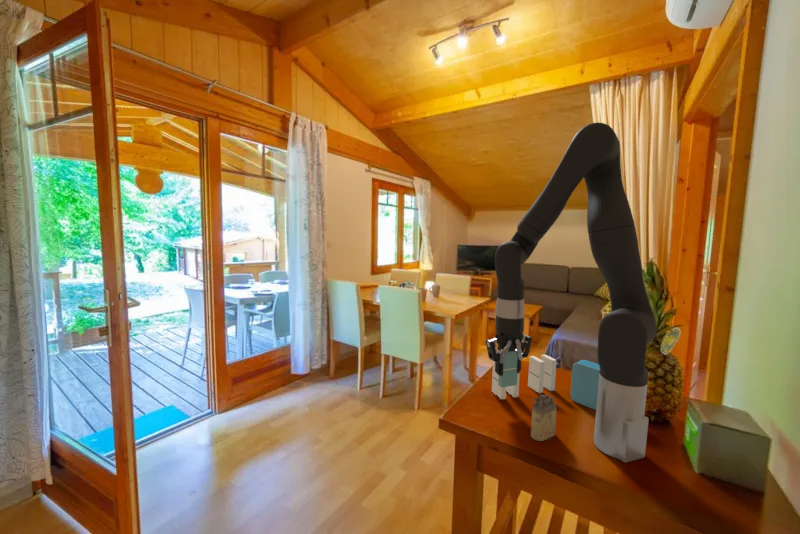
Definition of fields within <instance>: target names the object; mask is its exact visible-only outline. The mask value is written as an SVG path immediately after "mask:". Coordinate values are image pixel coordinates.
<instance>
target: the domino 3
mask: <svg viewBox="0 0 800 534" xmlns="http://www.w3.org/2000/svg"><path fill="white" fill-rule="evenodd" d="M520 373H521V372H520ZM520 373H517V385H514V386H508V387H506V391H507V392H508V395H510V396H511V395H512V396H511V397H512V398H518V397H519V392H520V375H521V374H520ZM507 392H506V393H507Z"/></svg>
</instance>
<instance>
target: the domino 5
mask: <svg viewBox="0 0 800 534" xmlns="http://www.w3.org/2000/svg"><path fill="white" fill-rule="evenodd" d="M540 359H541V360H542V361H544V362H545V366H544V382H543V388H544V389H546V390H548V391H549V392H553V391H555V389H556V375H557V374H556V373H557V359H555V358H553V357H551V356H550V355H547V354H540Z"/></svg>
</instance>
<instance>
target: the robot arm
mask: <svg viewBox="0 0 800 534" xmlns="http://www.w3.org/2000/svg"><path fill="white" fill-rule="evenodd" d="M564 153H565V154H564V155H563V157H562V159H561V160H560V162H559V164H558V166H557V167H556V169H555V170H554V173H553V174H552V176H551V178H550V179H549V181H548V182H547V184H546V185H545V187H544V189H543V190H542V191H541V192H540V194H538V197H537V198H536V199H535V201H534V202H533V203H532V204H531V206H530V208H529V209H528V210H527V211H526V213H525V214H524V215H523V217H522V218H521V220H520V221H519V222H518V224H517V227H516V229H517V230H516V232H515V234H514V235H513V236H512V238H511V239H510V240H509V241H506V242H503V243H501V244H499V246H498V247H497V248H496V250H495V253H494V268H495V275H496V279H497V286H496V287H497V292H496V293H497V294H496V304H495V332H496V333H495V335H494V338H491V339H489V338H487V339H486V340H485V344H486V345H485V346H486V351H487V354H488V355H487V356H488V359H490V360H491V361H492V362H493V361H494V362H495V372H496V373H497V374H498V375H499V376H503V360H504V357H505V356H506V355H507V352H508V351H510V350H513V351H514V350H516V353H517V356H518V361H517V373H521V370H522V361H523V360H524V358H528V357H529V354H530V350H531V346H532V341H533V338H532V336H530V335H527V334H524V331H525V311H526V310H525V308H526V307H525V280H524V279H523V278H522V265H523V264H525V263H526V262H527V261H528V259H529V258H530V256H531V255H532V253H534V251H535V249H536V247H537V246H538V244H539V242H540V241H541V240H542V238H543V237H544V236H545V235H546V234H547V233H548V231H549V230H550V229H551V228H552V226H553V225H554V224H555V222H556V221H557V220H558V219H559V218H560V216H561V214H562V212H563V210H564V209H565V207H566V205H567V203H568V201H569V199H570V197H571V196H572V194H573V193H574V191H575V189H576V188H577V187H578V186H579V185H580V183H581V181H582V180H583V179H584V181H585V182H584V183H585V187H586V192H587V209H586V211H587V213H586V214H587V215H586V224H587V225H586V226H587V234H588V240H589V244H590V245H589V246H590V250H591V254H592V258H593V259H594V261H595V264H596V266H597V267H598V269H599V272H601V275H602V276H603V277H602V278H603V279H604V280H605V283H606V285H607V288H608V293H609V299H610V304H611V305H610V307H611V310H610V312H608V313H606V314H605V315H604V316H603V317H602V319H601V320H600V323H599V327H598V331H597V332H598V335H597V336H598V337H597V352H596V353H597V364H599V366H600V371H599V382H598V394H597V406H596V410H595V420H594V421H595V422H594V433H593V443H594V445H595V447H596V448H597V449H598V450H600V452H602V453H603V454H606V456H610V457H612V458H614V459H618V460H619V461H621V462H622V463H625V464H626V463H629V462H632V461H637V460H640V459H644V458H645V457H646V450H647V449H646V447H647V441H648V439H647V438H648V431H649V428H648V427H649V417H648V416H646V415H645V412H646V411H645V410H646V402H647V394H648V393H647V391H648V382H649V370H648V369H647V368H646V357H647V354H646V353H647V345H648V344H650V343H651V342H652V341H653V340H654V338H655V337H656V335H657V330H658V329H657V322H656V318H655V316H654V312H653V309H652V306H651V303H650V300H649V297H648V294H647V290H646V286H645V281H644V277H643V273H644V272H643V267H642V260H641V254H640V249H639V247H640V246H639V242H638V235H637V230H636V226H635V220H634V217H633V214H632V209H631V207H630V206H631V205H630V203H629V199H628V197H627V194H626V191H625V188H624V185H623V180H622V178H623V177H622V167H621V166H622V165H621V145H620V139H619V136H617V133H616V132H615V130H614V129H613V127H611V126H610V125H609V124H606V123H605V122H593V123H589V124H587V125H585V126H583V127H582V128H580V130H578V131H577V132H576V133H575V135H574V136H573V138H572V140H571V142H570V143H569V145H568V147H567V149H566V151H565V152H564ZM502 350H503V351H502ZM499 353H500V357H499Z"/></svg>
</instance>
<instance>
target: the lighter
mask: <svg viewBox="0 0 800 534" xmlns="http://www.w3.org/2000/svg"><path fill="white" fill-rule="evenodd" d="M554 399H555V397H554V396H549V394H542V393H540V394H539V396H538V397H534V403H533V404H532V409H531V422H530V423H531V424H530V425H531V426H530V438H531V439H532V440H534V441H537V442H543V441H546V440H551V438H553V437H554V436H556V423H557V422H556V421H557V408H558V407H557V403H556V402H555V401H554Z"/></svg>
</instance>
